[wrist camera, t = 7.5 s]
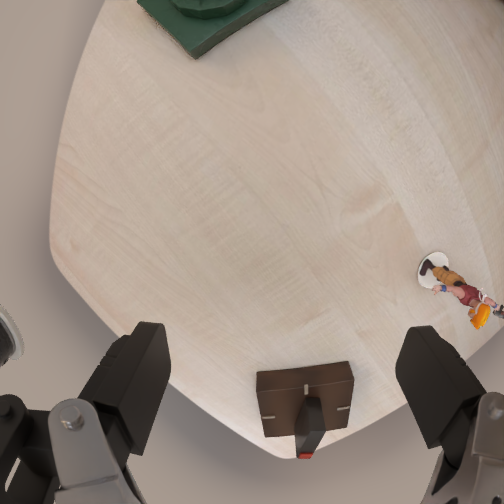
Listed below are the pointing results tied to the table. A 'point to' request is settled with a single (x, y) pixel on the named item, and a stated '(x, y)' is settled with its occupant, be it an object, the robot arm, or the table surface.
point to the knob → (309, 428)
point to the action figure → (456, 288)
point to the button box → (205, 19)
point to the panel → (304, 396)
